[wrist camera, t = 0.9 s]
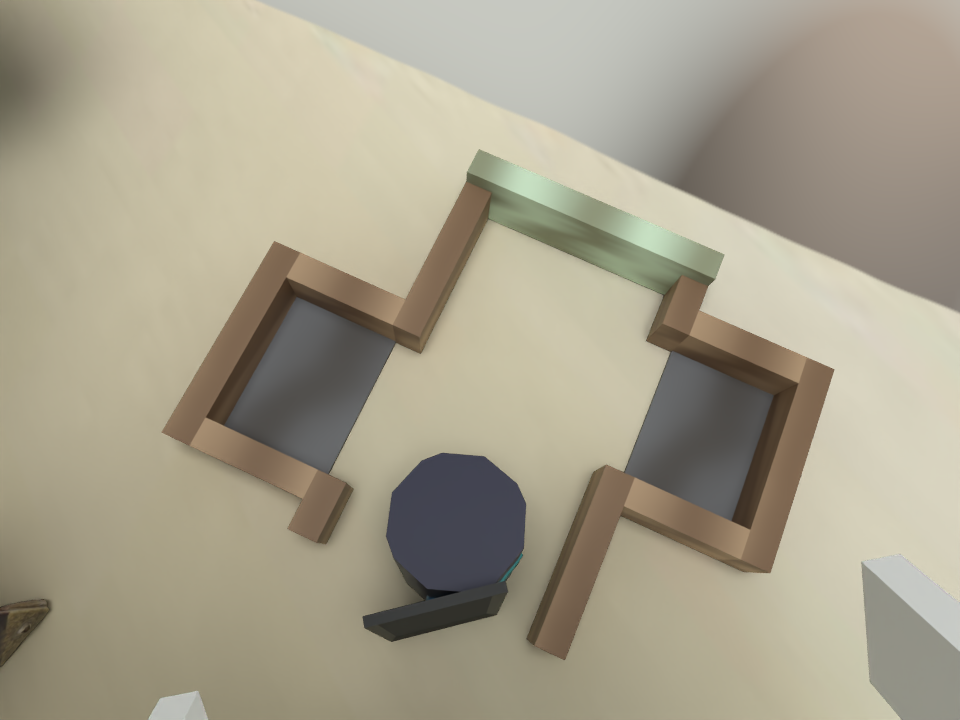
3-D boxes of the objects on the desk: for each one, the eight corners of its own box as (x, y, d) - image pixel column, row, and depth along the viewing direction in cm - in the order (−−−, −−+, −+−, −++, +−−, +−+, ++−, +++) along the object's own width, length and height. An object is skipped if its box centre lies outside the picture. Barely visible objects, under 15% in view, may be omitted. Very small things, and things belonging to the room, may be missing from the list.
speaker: (505, 656, 35) (520, 661, 25) (388, 641, 35) (358, 639, 25) (520, 501, 37) (539, 451, 28) (412, 487, 38) (393, 433, 28)
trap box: (167, 469, 36) (135, 458, 33) (359, 137, 42) (351, 94, 38) (696, 719, 35) (728, 739, 31) (820, 336, 40) (861, 313, 37)
